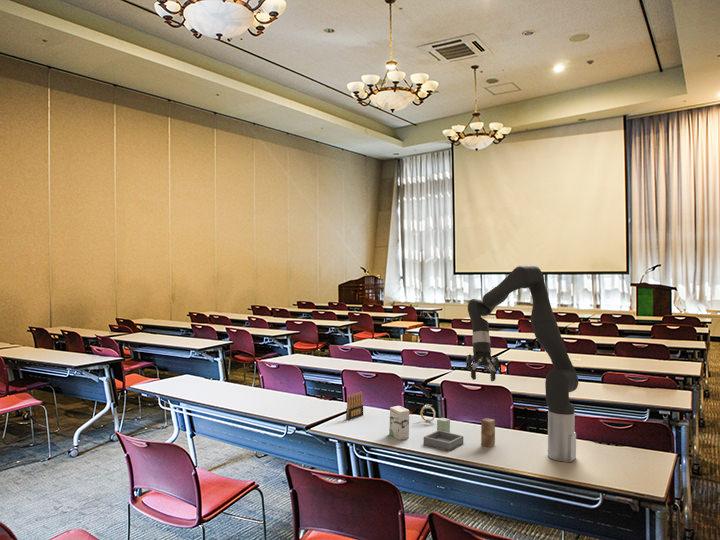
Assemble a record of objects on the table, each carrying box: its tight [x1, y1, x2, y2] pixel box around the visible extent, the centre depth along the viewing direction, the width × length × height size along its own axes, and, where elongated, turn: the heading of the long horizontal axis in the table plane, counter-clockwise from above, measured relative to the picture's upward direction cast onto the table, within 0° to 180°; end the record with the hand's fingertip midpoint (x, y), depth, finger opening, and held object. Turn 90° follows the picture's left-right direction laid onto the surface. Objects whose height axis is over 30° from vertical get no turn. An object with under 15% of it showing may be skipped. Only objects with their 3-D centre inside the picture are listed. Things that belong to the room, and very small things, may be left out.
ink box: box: [388, 405, 410, 441], centre depth 211 cm, size 9×5×12 cm, turn 28°
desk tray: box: [423, 430, 464, 452], centre depth 202 cm, size 12×12×3 cm
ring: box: [419, 403, 437, 423], centre depth 232 cm, size 7×3×8 cm, turn 61°
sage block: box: [436, 417, 451, 433], centre depth 216 cm, size 4×4×6 cm
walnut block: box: [480, 417, 496, 448], centre depth 202 cm, size 4×4×10 cm
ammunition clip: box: [345, 390, 364, 421], centre depth 238 cm, size 11×2×12 cm, turn 140°
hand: (483, 380), depth 213 cm, fingers open, 8 cm apart
